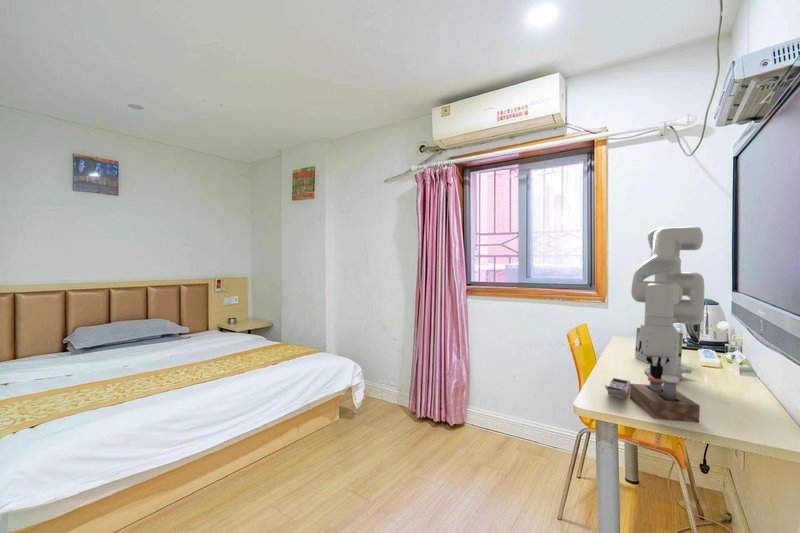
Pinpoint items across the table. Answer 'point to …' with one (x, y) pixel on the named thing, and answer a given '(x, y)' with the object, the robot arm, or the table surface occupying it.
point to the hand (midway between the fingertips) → (656, 377)
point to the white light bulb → (669, 387)
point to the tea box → (679, 347)
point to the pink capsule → (655, 384)
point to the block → (664, 404)
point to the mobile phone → (618, 388)
